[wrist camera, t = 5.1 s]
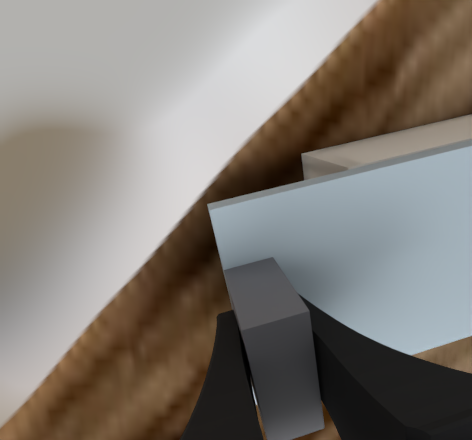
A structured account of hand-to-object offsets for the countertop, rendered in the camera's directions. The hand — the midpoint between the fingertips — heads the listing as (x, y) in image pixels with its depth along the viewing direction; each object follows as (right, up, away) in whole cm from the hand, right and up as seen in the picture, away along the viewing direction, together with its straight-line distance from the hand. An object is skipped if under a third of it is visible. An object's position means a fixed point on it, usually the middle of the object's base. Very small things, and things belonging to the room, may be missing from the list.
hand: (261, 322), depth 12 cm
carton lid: (+6, +2, +2) cm, 6 cm away
